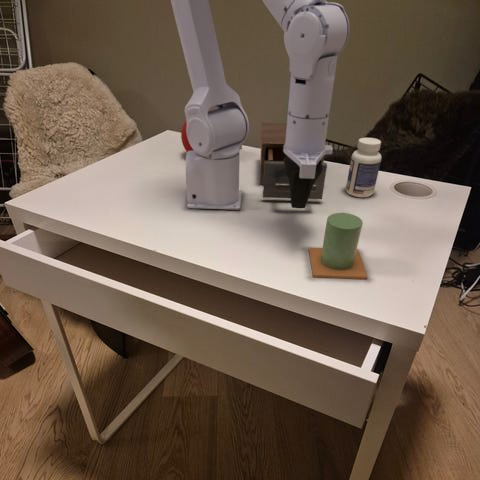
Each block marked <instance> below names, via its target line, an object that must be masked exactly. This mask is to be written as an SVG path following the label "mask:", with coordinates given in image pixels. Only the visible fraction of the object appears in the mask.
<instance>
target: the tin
mask: <svg viewBox="0 0 480 480" xmlns="http://www.w3.org/2000/svg"><path fill="white" fill-rule="evenodd" d="M363 224H364V223H363V220H362V219H361V218H360V217H359V216H357V215H355V214H352V213H347V212H336V213H331V214H329V216H327V218H326V225H325V229H324V230H325V231H324V236H323V242H322V247H321V248H322V254H321V262H322V264H323V265H325V266H326V267H328V268H331V269H335V270H345V269H349V268H351V267H352V266H353V264H354V260H355V255H356V251H357V249H358V245H359V242H360V237H361V233H362V229H363Z"/></svg>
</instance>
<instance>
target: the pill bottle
mask: <svg viewBox="0 0 480 480" xmlns="http://www.w3.org/2000/svg"><path fill="white" fill-rule="evenodd" d="M356 145H357V146H356V148H357V150H354V151H353V153H352V154H351V157H350V164H349V169H348V174H347V180H346V185H345V186H346V187H345V191H346V193H347V194H348V195H351V196H353V197H356V198H368V197H371V196H372V195H373V194H374V192H375V189H376V184H377V180H378V177H379V176H378V175H379V171H380V167H381V166H380V165H381V162H382V155H381V153H380V152H379V151H380V149H381V145H382V141H381V139H378V138H376V137H361V138H359V139H358V142H357V144H356Z"/></svg>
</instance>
